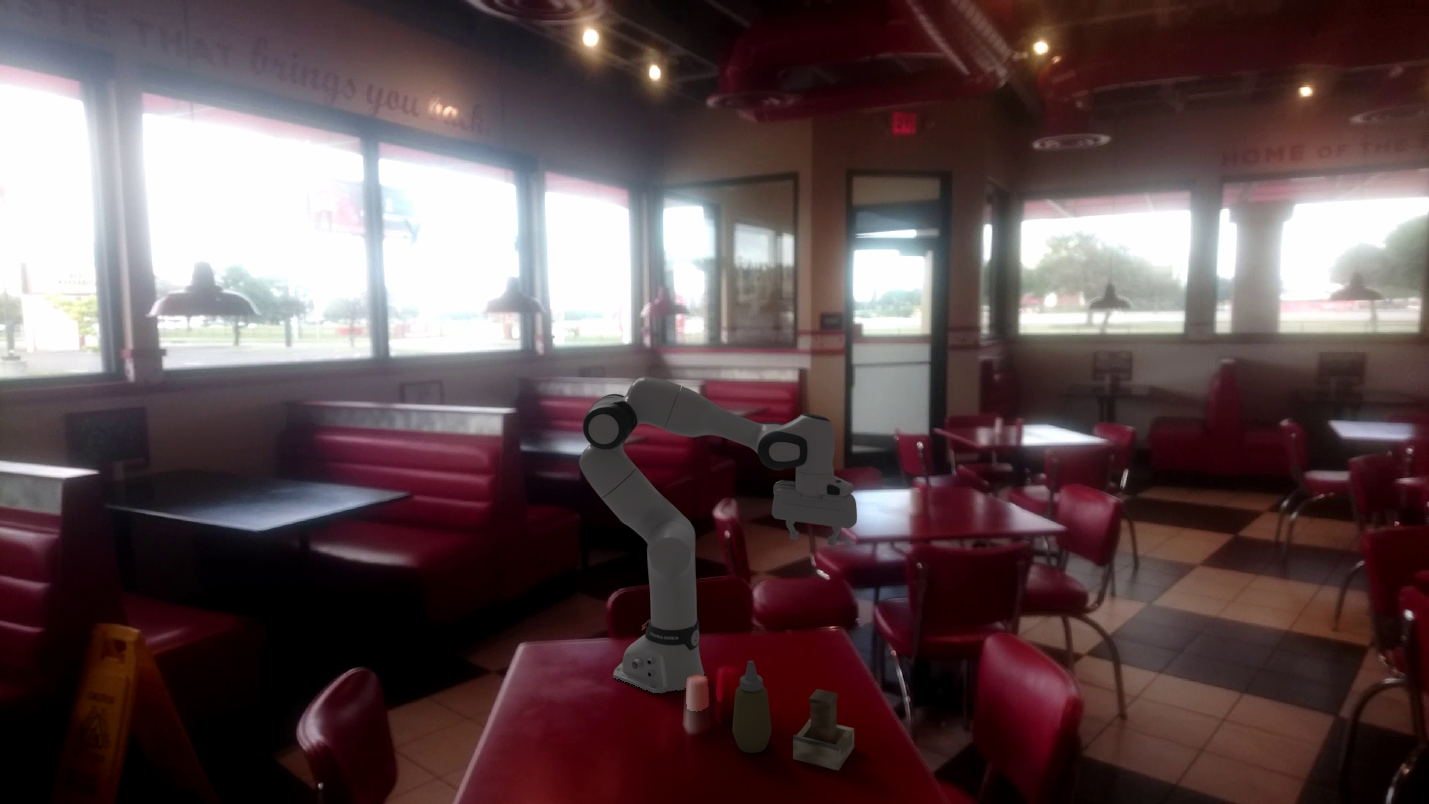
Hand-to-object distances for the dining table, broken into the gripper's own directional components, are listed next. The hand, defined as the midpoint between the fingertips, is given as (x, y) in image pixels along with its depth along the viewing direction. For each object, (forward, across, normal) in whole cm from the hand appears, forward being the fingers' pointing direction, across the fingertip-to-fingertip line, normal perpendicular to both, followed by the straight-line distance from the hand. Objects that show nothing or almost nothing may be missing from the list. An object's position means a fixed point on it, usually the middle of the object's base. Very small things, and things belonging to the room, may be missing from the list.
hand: (812, 541), depth 191 cm
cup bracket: (+35, +14, -27) cm, 47 cm away
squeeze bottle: (+36, +1, -32) cm, 48 cm away
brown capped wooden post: (+35, +14, -27) cm, 47 cm away
